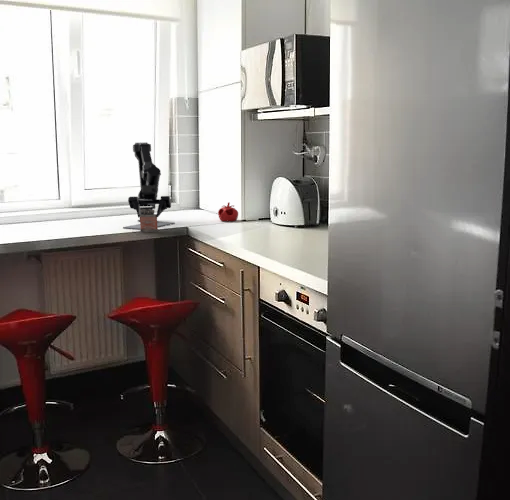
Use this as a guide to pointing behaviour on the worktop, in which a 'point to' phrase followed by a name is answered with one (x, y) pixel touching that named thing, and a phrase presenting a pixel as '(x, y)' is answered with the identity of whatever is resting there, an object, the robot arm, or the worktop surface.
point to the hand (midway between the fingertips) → (147, 216)
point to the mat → (140, 226)
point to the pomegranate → (228, 213)
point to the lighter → (148, 221)
